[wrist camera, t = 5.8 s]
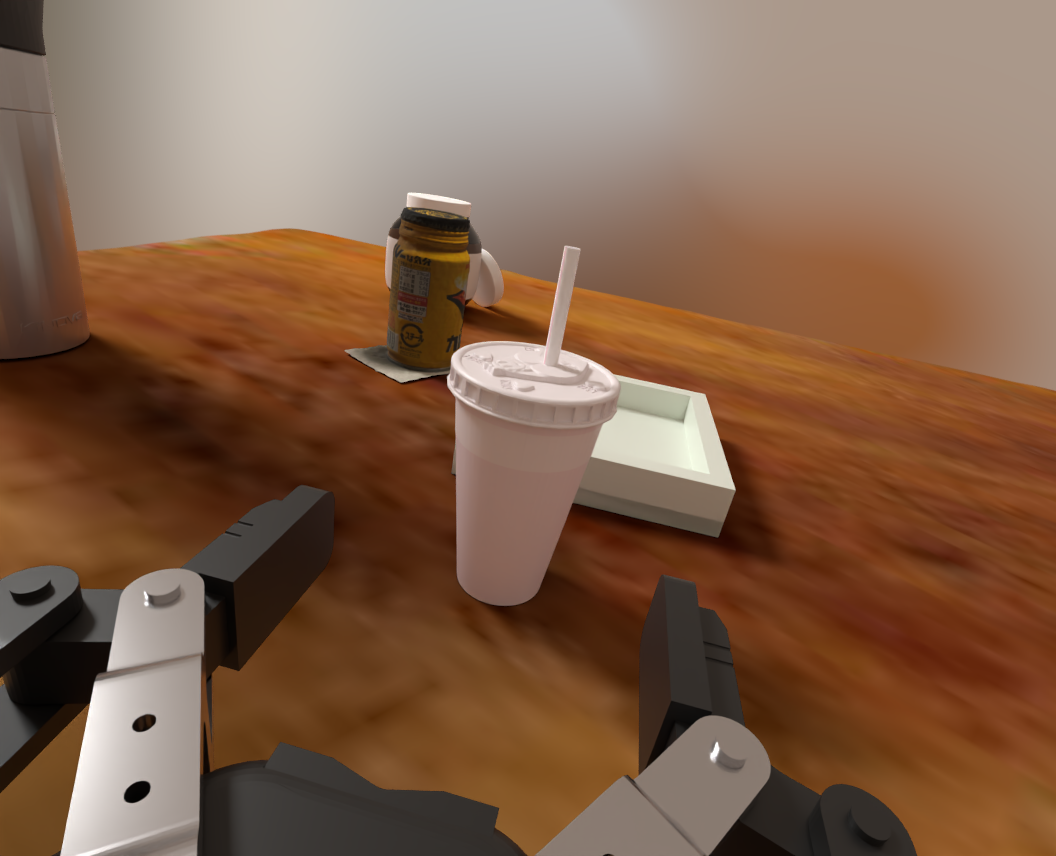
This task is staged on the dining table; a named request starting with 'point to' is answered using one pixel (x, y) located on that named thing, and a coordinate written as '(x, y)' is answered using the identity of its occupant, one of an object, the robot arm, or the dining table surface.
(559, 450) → the smoothie
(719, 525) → the tray
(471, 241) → the spread jar
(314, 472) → the dining table surface
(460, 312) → the condiment
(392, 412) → the dining table surface
